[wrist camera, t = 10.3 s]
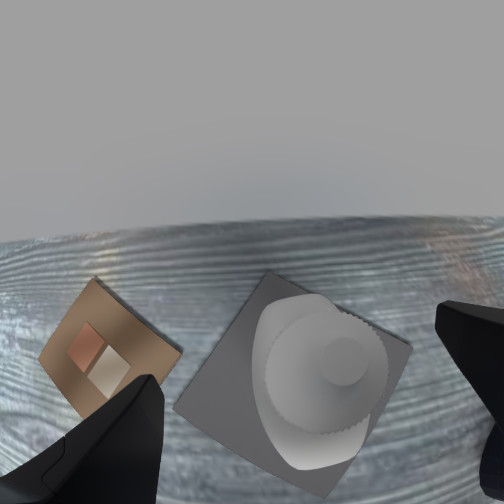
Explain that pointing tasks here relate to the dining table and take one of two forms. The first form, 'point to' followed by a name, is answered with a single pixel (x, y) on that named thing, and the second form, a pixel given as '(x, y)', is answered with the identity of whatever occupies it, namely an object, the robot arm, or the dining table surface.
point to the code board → (102, 351)
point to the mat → (243, 401)
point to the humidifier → (493, 465)
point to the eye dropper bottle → (316, 379)
